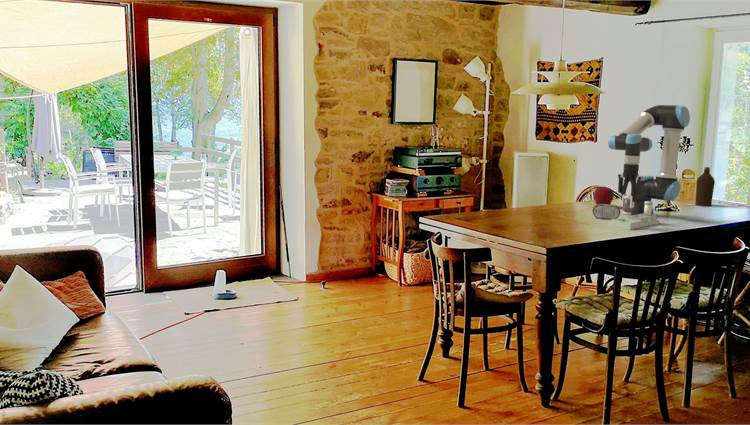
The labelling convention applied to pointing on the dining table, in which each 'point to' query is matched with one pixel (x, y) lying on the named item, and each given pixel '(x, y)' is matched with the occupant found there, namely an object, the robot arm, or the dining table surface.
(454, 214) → the dining table surface
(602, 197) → the apple
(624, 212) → the fuse
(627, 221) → the parts tray
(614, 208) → the tin
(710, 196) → the olive oil
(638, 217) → the fuse holder
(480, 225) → the dining table surface
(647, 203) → the fuse
